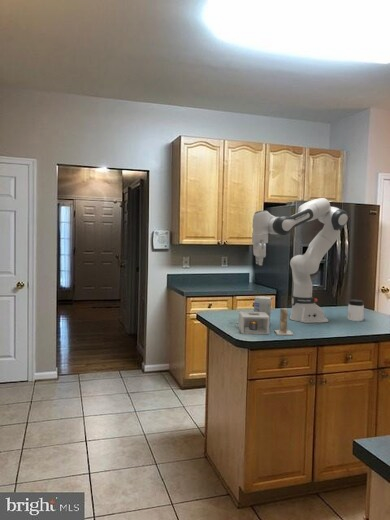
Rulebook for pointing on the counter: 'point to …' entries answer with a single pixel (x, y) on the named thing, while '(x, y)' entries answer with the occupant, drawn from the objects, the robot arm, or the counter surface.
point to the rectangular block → (283, 320)
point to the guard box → (253, 316)
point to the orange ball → (253, 325)
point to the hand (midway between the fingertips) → (259, 264)
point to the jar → (355, 310)
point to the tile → (284, 333)
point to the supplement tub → (262, 305)
